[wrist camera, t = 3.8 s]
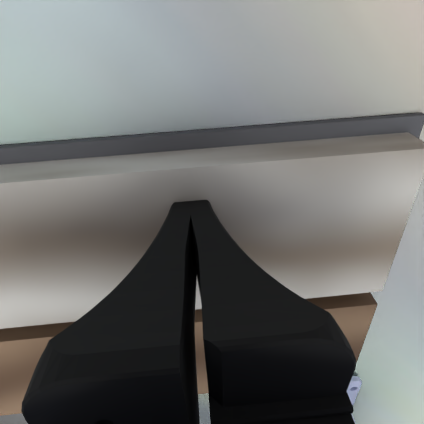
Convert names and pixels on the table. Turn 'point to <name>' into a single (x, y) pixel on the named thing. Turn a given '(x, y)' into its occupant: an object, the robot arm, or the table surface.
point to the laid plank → (336, 305)
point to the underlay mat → (211, 138)
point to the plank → (222, 206)
